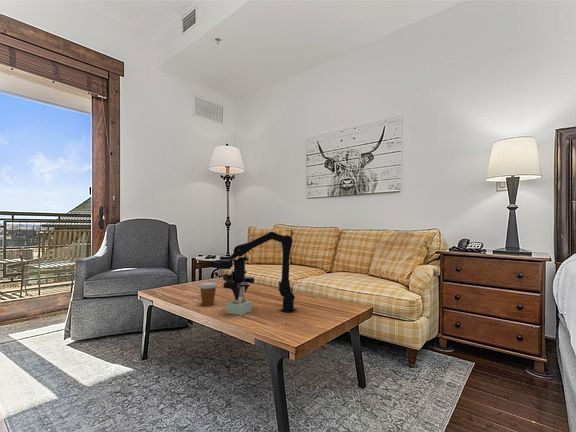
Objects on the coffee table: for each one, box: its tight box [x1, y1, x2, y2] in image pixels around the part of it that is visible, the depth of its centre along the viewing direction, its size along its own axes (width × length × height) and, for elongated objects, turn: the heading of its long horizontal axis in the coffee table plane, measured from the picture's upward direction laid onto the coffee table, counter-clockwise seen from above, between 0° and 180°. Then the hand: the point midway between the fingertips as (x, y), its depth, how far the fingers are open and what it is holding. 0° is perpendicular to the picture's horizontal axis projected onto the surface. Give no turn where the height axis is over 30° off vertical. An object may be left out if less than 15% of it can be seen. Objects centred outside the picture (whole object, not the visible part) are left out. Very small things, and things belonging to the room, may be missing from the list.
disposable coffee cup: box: [199, 281, 218, 307], centre depth 173 cm, size 10×10×12 cm
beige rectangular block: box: [233, 286, 246, 304], centre depth 160 cm, size 4×4×10 cm
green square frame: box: [226, 299, 253, 316], centre depth 159 cm, size 9×9×5 cm
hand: (239, 299), depth 160 cm, fingers closed on beige rectangular block, 4 cm apart
